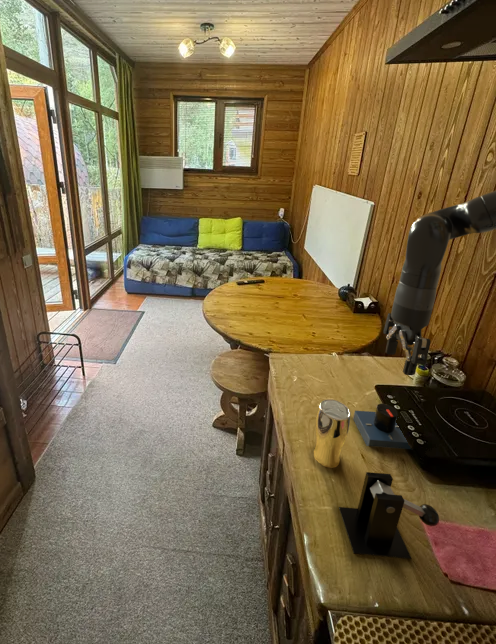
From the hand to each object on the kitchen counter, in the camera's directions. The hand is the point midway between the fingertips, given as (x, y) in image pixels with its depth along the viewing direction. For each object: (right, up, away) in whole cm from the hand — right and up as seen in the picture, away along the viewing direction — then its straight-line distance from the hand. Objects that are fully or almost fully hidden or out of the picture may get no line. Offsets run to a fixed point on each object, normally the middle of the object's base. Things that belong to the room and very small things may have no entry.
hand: (398, 363), depth 75 cm
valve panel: (0, -21, +7) cm, 22 cm away
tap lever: (-11, -21, -19) cm, 30 cm away
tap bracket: (-15, -28, -16) cm, 36 cm away
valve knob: (0, -18, +6) cm, 19 cm away
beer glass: (-18, -23, -1) cm, 29 cm away
